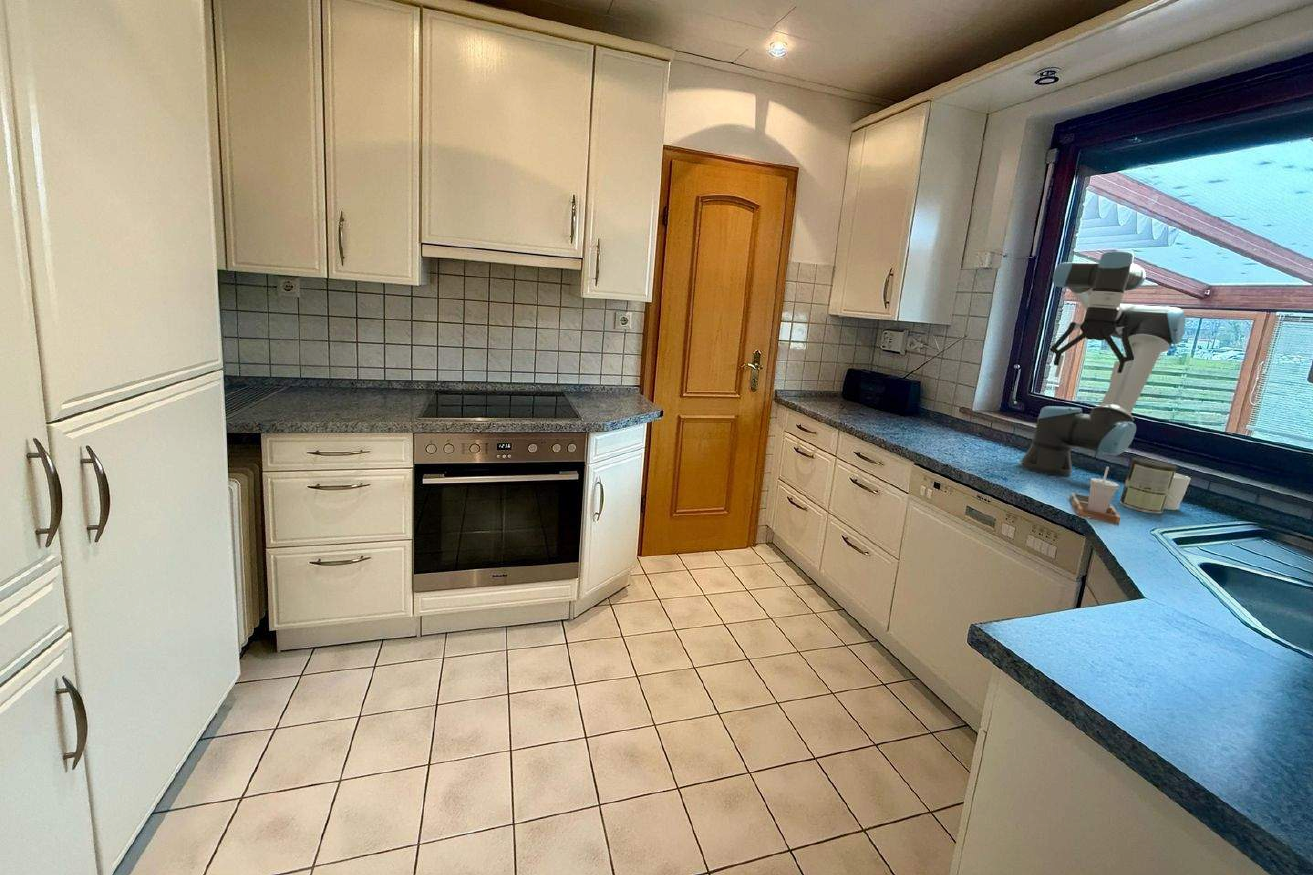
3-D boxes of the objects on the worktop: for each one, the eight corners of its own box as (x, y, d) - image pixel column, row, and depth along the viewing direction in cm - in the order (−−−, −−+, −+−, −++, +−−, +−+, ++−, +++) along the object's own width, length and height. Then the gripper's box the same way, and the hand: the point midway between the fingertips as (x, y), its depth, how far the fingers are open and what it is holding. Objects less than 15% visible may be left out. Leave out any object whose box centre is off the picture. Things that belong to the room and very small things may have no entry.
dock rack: (1069, 498, 174) (1070, 492, 173) (1106, 506, 170) (1108, 500, 169) (1077, 515, 158) (1079, 508, 158) (1118, 524, 154) (1121, 517, 154)
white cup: (1186, 510, 174) (1196, 478, 172) (1170, 511, 171) (1180, 479, 169) (1156, 501, 181) (1166, 470, 179) (1140, 502, 178) (1150, 471, 176)
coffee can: (1110, 499, 178) (1124, 455, 174) (1146, 503, 177) (1160, 459, 174) (1134, 511, 168) (1148, 464, 164) (1171, 515, 167) (1187, 469, 164)
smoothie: (1075, 511, 162) (1089, 463, 159) (1090, 510, 164) (1104, 463, 161) (1099, 520, 156) (1114, 470, 153) (1114, 519, 159) (1129, 470, 155)
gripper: (1053, 303, 171) (1035, 374, 176) (1161, 311, 159) (1138, 388, 164) (1051, 303, 177) (1033, 373, 182) (1154, 312, 166) (1132, 385, 171)
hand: (1083, 380), depth 173 cm, fingers open, 13 cm apart
